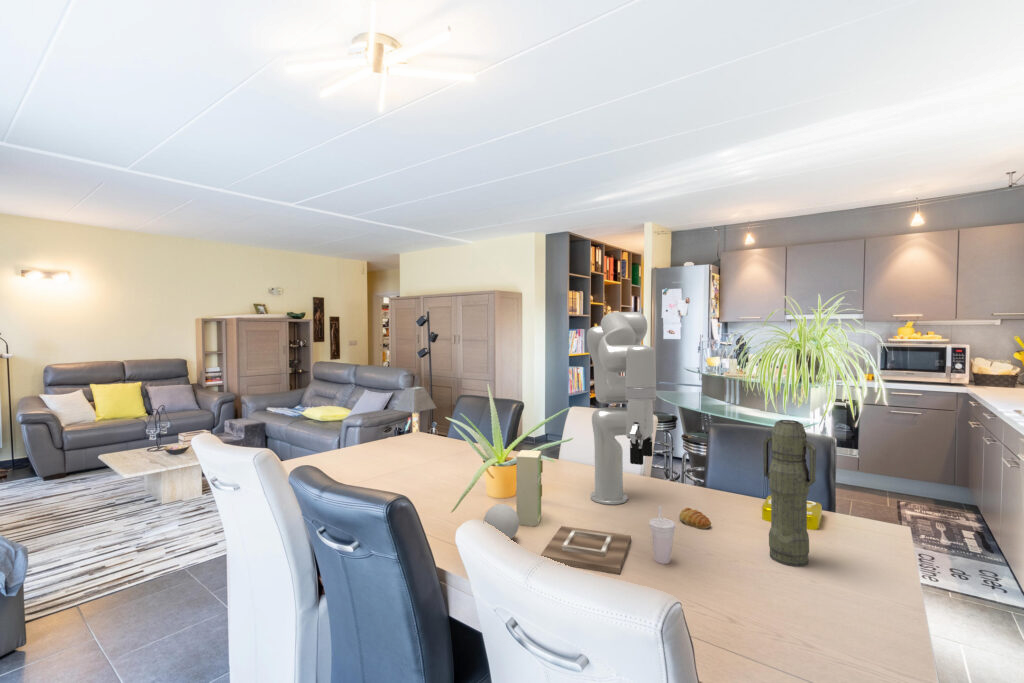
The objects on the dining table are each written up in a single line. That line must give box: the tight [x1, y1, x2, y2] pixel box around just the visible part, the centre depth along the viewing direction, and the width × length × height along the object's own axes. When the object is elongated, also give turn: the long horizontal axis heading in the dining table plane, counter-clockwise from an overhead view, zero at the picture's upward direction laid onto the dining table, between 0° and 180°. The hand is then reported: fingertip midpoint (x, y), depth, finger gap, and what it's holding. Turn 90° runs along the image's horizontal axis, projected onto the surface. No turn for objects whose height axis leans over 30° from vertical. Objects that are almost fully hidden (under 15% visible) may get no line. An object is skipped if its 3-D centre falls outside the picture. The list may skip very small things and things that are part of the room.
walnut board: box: [540, 525, 632, 575], centre depth 131 cm, size 20×20×3 cm
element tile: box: [761, 494, 823, 531], centre depth 153 cm, size 15×15×5 cm
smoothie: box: [648, 505, 676, 564], centre depth 125 cm, size 6×6×14 cm
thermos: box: [763, 419, 817, 567], centre depth 125 cm, size 9×12×35 cm
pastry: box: [678, 507, 712, 530], centre depth 149 cm, size 9×7×4 cm
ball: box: [483, 503, 520, 540], centre depth 138 cm, size 10×10×10 cm
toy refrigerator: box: [515, 449, 544, 527], centre depth 152 cm, size 8×7×21 cm
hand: (641, 459), depth 128 cm, fingers open, 9 cm apart
